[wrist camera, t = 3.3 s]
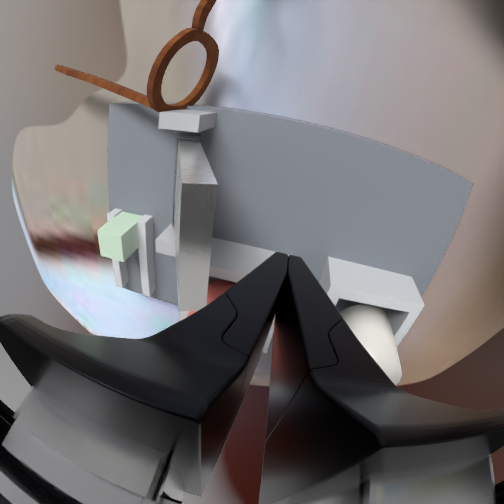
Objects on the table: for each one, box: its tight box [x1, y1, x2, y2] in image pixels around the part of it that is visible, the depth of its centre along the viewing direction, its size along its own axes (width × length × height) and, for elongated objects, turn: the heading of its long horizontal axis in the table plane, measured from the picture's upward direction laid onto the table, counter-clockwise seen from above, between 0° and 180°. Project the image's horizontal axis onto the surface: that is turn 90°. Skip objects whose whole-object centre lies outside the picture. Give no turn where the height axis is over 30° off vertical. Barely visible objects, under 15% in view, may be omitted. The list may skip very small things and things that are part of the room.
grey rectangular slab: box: [172, 132, 218, 311], centre depth 12 cm, size 1×5×8 cm, turn 171°
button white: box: [339, 304, 402, 385], centre depth 14 cm, size 4×4×4 cm
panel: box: [107, 102, 473, 354], centre depth 16 cm, size 22×14×5 cm, turn 81°
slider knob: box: [97, 211, 142, 262], centre depth 16 cm, size 2×2×3 cm
